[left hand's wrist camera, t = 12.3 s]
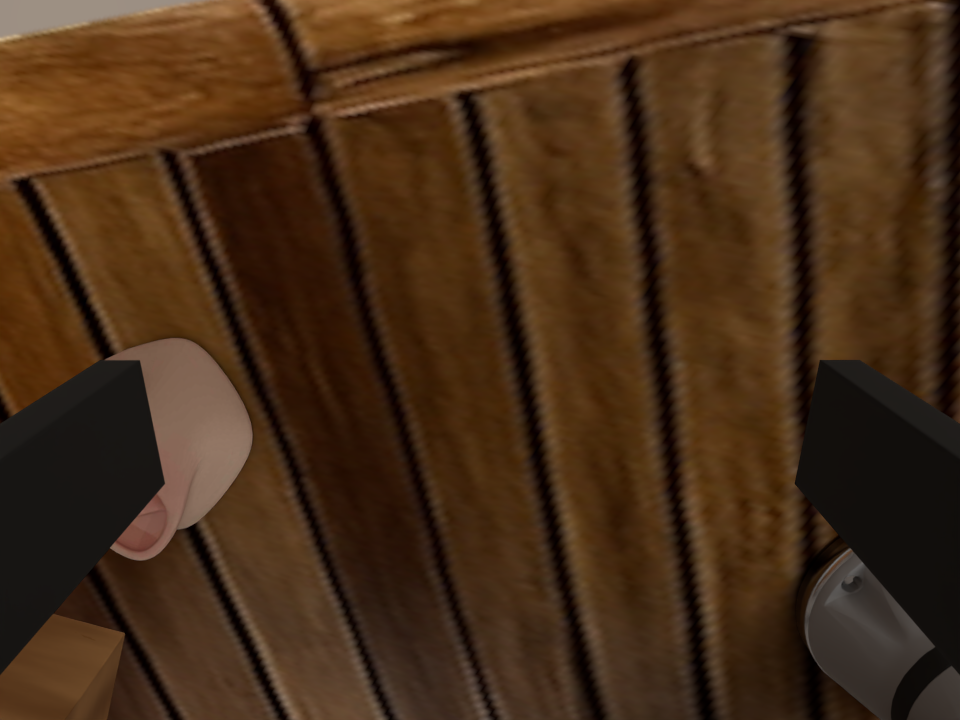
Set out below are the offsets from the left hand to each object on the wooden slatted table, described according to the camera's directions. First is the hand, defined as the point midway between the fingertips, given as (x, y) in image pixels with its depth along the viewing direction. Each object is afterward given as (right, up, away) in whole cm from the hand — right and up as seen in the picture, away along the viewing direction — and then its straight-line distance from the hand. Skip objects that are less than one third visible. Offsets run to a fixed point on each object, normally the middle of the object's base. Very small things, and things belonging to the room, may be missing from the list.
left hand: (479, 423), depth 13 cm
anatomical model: (-21, -4, +29) cm, 36 cm away
